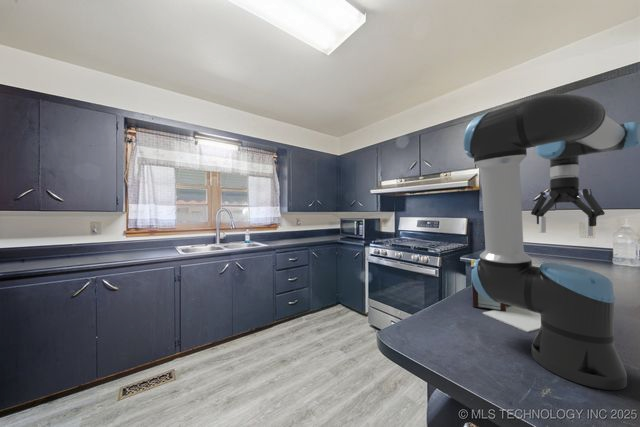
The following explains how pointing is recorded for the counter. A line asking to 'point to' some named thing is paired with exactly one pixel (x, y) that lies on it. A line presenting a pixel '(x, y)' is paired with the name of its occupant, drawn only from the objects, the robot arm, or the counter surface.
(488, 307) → the protein box
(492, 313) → the mat
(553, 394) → the counter surface
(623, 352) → the counter surface
